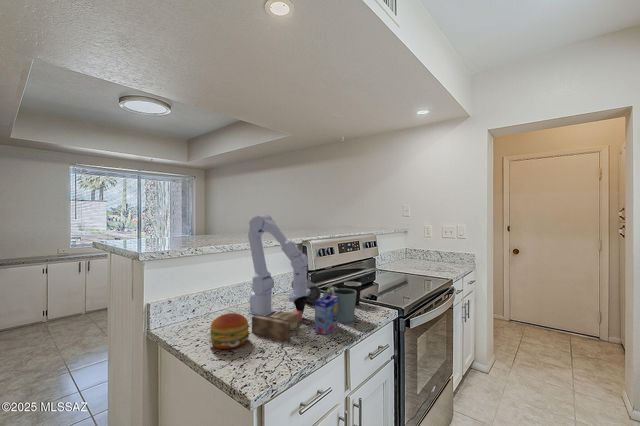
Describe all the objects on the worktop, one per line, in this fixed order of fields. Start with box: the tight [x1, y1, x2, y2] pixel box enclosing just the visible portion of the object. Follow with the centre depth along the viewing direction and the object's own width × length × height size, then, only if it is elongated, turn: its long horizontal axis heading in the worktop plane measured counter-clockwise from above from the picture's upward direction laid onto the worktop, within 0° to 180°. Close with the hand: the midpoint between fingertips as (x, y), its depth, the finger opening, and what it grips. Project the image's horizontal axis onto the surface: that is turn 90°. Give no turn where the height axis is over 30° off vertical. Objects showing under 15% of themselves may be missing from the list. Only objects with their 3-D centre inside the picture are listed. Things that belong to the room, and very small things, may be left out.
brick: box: [290, 309, 303, 323], centre depth 123 cm, size 3×8×3 cm, turn 153°
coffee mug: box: [336, 281, 362, 307], centre depth 146 cm, size 12×9×10 cm
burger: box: [208, 312, 250, 350], centre depth 103 cm, size 13×14×10 cm
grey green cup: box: [332, 287, 357, 324], centre depth 125 cm, size 10×10×12 cm
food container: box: [322, 285, 339, 297], centre depth 135 cm, size 12×6×10 cm, turn 168°
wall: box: [251, 314, 291, 342], centre depth 109 cm, size 16×2×6 cm, turn 62°
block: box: [269, 310, 298, 331], centre depth 116 cm, size 8×7×5 cm
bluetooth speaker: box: [291, 279, 322, 303], centre depth 154 cm, size 23×9×10 cm, turn 23°
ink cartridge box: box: [314, 292, 339, 336], centre depth 114 cm, size 10×6×14 cm, turn 149°
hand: (300, 314), depth 127 cm, fingers closed
